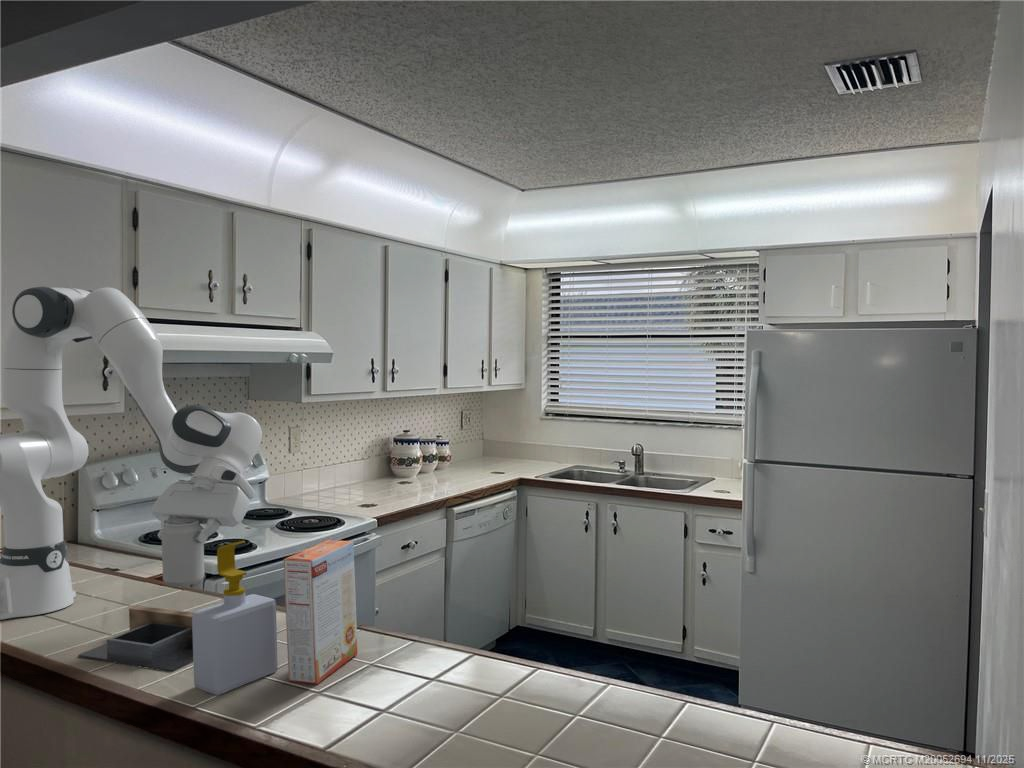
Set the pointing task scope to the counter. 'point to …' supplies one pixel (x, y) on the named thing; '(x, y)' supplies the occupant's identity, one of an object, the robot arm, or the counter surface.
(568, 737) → the counter surface
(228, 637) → the soap bottle
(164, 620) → the wooden plank
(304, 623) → the cracker box
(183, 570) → the can
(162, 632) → the socket
